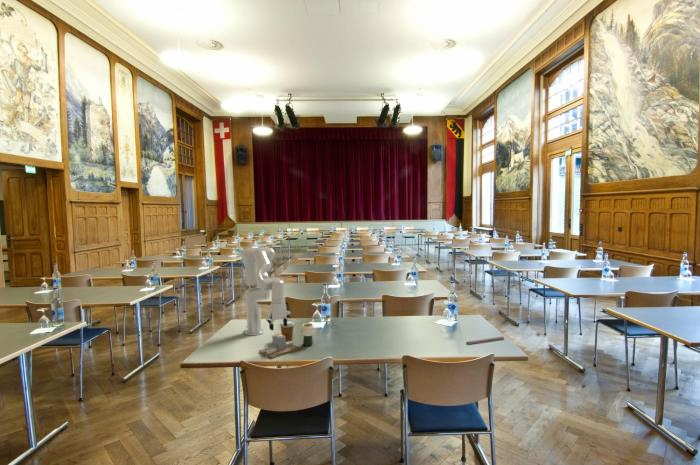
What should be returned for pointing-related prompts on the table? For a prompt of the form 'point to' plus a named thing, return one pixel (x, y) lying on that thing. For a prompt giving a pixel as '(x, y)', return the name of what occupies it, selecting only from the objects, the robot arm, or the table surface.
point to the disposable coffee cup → (287, 329)
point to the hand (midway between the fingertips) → (278, 327)
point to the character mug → (307, 333)
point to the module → (279, 341)
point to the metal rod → (485, 340)
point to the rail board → (273, 351)
